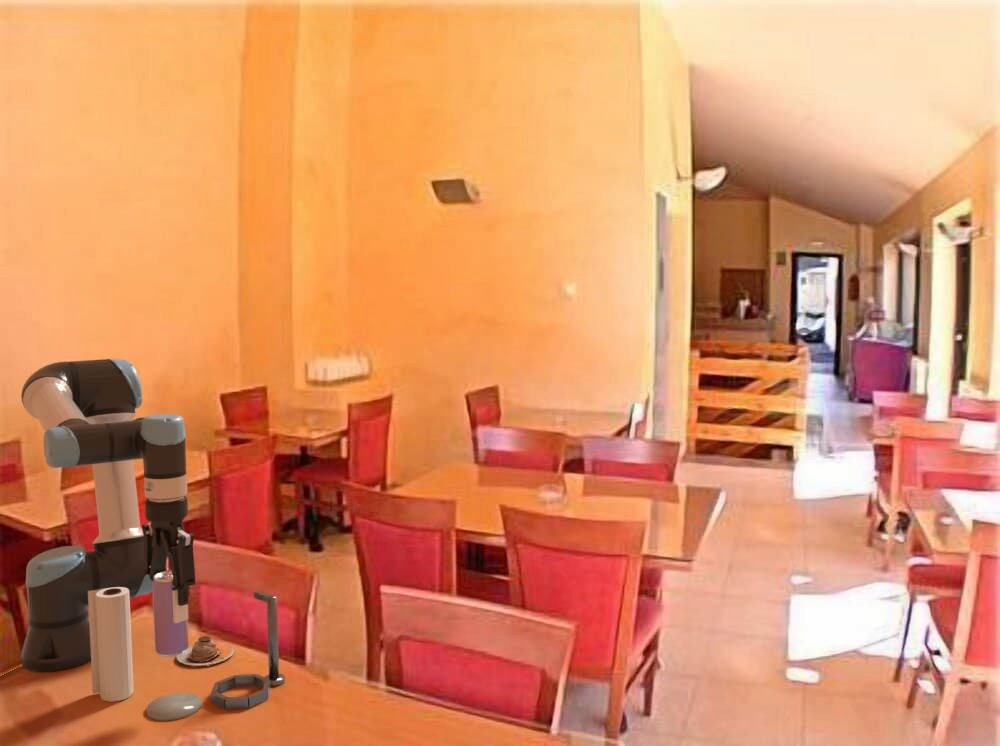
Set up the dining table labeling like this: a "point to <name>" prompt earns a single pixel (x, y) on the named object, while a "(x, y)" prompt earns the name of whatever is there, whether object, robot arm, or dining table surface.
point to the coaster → (173, 706)
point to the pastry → (202, 652)
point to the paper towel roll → (111, 643)
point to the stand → (254, 679)
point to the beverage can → (167, 618)
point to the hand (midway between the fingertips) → (170, 616)
